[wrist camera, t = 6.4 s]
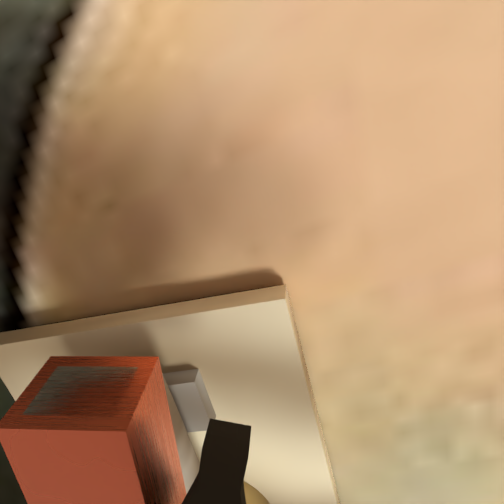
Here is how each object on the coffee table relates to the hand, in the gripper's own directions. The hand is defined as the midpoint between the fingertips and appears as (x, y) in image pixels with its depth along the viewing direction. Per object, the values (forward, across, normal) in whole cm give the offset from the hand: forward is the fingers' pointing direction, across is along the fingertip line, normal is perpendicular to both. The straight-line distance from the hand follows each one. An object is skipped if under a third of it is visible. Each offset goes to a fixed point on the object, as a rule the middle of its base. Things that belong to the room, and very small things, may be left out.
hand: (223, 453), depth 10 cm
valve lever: (0, +1, +4) cm, 4 cm away
